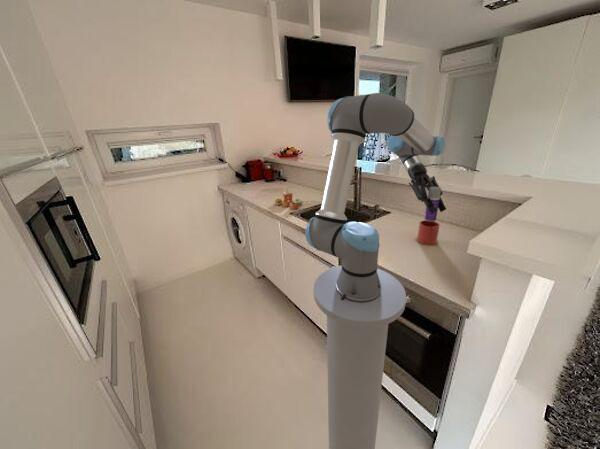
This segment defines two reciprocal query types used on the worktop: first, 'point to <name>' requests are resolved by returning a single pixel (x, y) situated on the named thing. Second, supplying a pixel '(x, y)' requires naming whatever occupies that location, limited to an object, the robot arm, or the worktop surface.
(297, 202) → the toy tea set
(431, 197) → the container
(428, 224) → the cup
